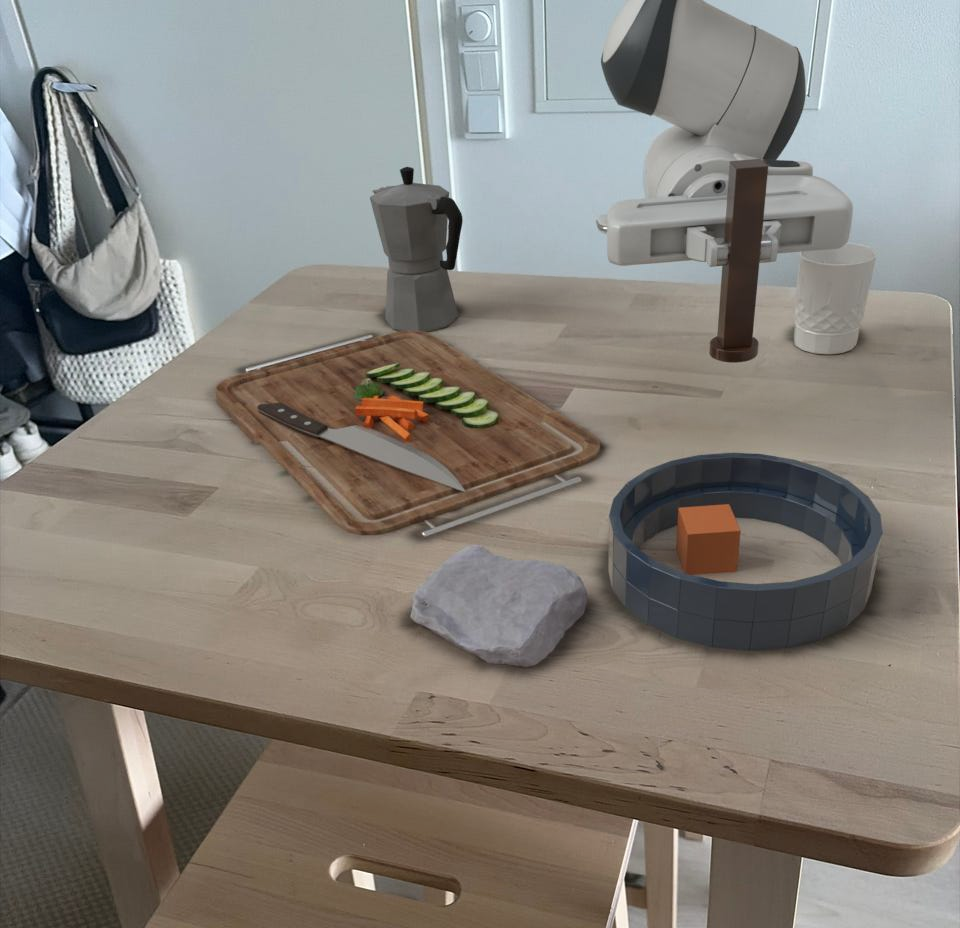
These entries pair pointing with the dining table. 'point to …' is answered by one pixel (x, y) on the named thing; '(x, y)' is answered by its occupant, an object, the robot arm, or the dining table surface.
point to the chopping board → (401, 429)
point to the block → (707, 539)
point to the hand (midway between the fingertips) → (744, 254)
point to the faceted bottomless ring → (741, 606)
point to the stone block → (500, 605)
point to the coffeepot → (418, 252)
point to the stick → (741, 262)
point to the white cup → (832, 297)
